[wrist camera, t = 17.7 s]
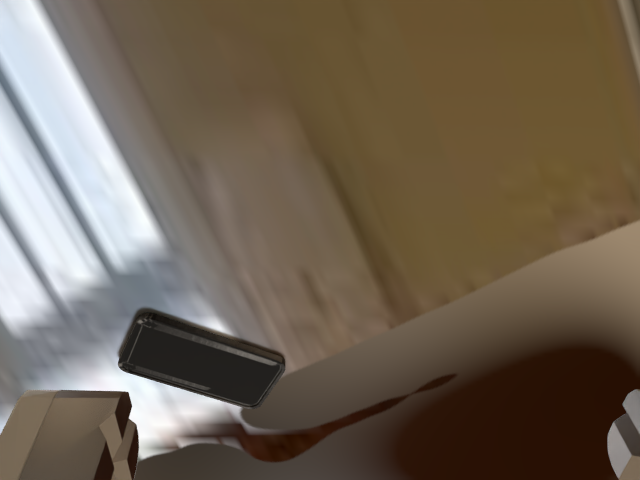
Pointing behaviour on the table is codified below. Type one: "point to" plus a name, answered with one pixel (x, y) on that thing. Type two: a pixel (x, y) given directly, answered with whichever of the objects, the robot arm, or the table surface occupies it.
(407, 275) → the table surface
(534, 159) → the table surface
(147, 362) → the phone
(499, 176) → the table surface
